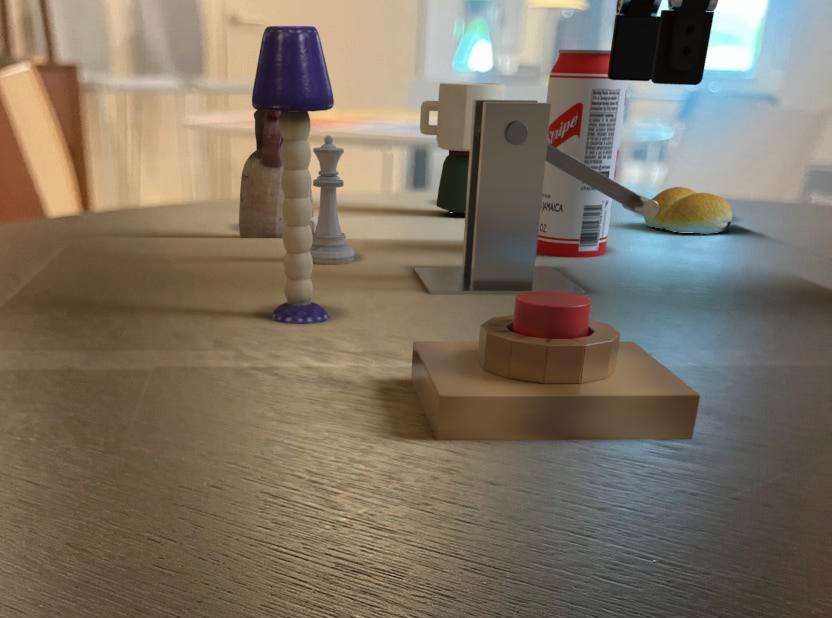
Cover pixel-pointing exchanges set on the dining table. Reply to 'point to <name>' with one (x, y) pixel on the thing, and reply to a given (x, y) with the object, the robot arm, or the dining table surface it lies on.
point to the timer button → (551, 315)
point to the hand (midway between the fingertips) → (651, 82)
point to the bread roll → (690, 211)
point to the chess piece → (329, 210)
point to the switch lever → (602, 183)
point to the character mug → (455, 135)
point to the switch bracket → (502, 205)
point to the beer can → (580, 153)
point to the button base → (549, 388)
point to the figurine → (264, 183)
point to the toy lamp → (294, 150)
